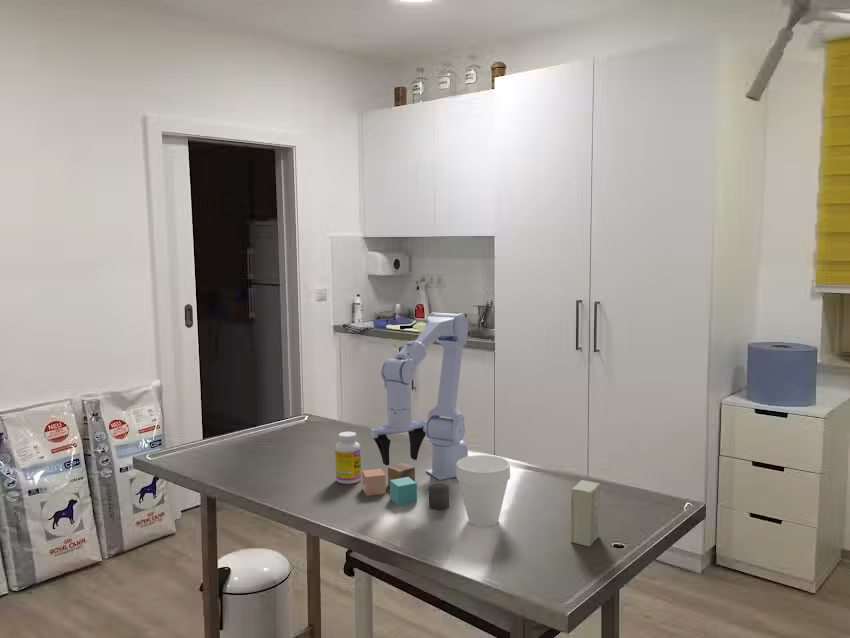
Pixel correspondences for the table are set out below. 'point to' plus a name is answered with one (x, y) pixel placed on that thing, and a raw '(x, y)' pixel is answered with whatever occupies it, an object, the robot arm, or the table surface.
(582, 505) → the skincare box
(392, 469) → the walnut cube
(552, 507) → the table surface
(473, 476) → the cup
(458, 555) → the table surface
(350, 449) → the supplement bottle
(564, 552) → the table surface
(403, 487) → the teal cube
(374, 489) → the terracotta cube
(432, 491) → the dark grey cylinder
